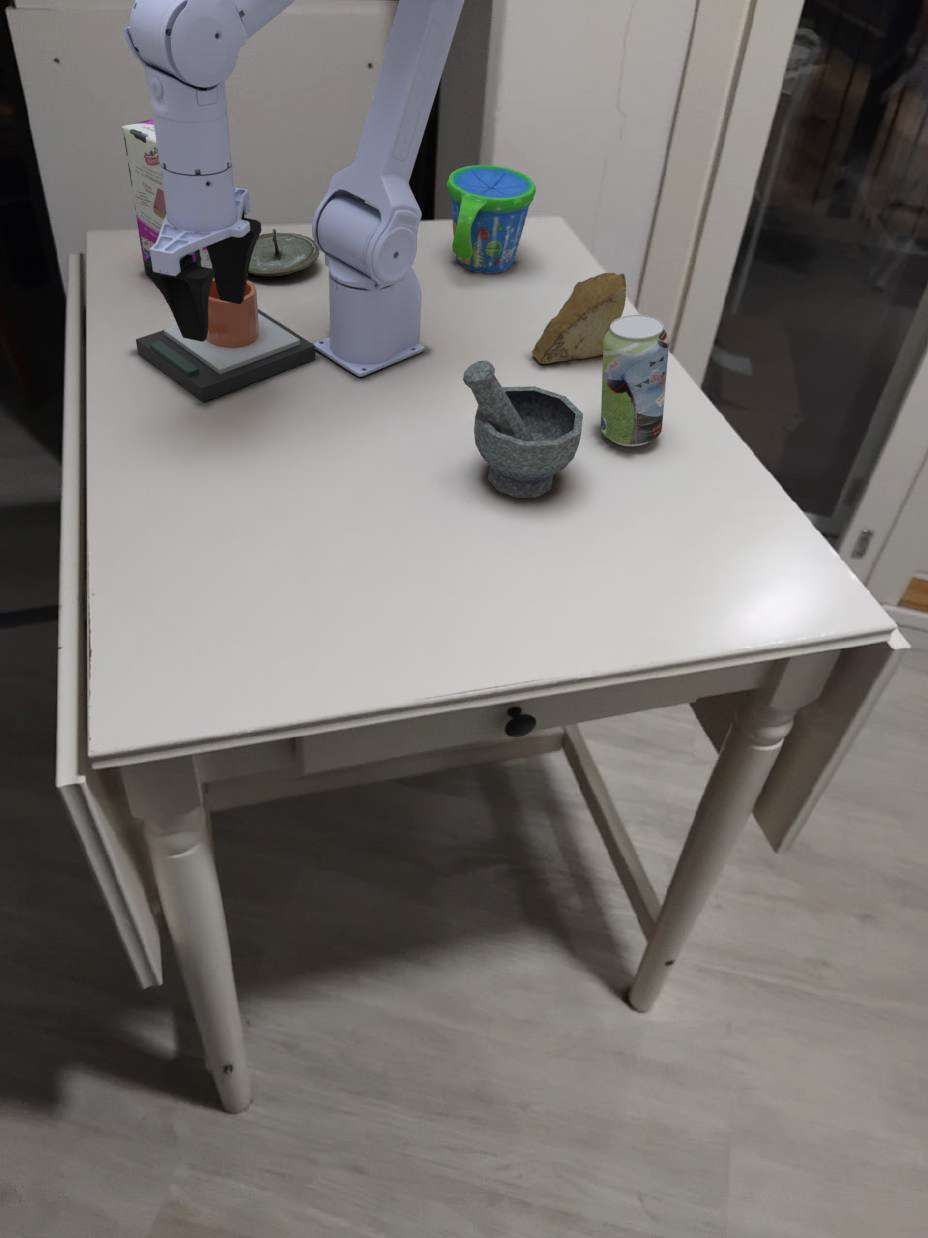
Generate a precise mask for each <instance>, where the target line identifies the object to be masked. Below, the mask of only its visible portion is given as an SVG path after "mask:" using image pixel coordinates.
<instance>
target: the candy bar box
mask: <svg viewBox="0 0 928 1238" xmlns="http://www.w3.org/2000/svg"><path fill="white" fill-rule="evenodd" d="M121 129H122V133H123V140H124V146H125V147H124V148H125V153H126V160H127V166H128V172H129V179H130V183H131V184H130V185H131V191H132V198H133V204H134V209H135V210H134V211H135V218H136V224H137V230H138V237H139V242H140V249H141V256H142V261H143V263H144V261H145V260H146V259H147V258H149V257H150V256H151V255H150V248H151V247H152V246H153V245H154V244H155V243H156V241H157V239H158V236H159V233H160V230H161V227H162V224H163V221H164V218H165V216H166V214H167V213H166V206H165V199H164V191H163V184H162V176H161V169H160V163H159V156H158V149H157V142H156V135H155V128H154V121H153V119H148V120H143V121H139V122H138V121H137V122H135V123H130V124H126V125H122V126H121ZM192 255H193V262H195V261H197V266H201V267H206V268H211V269H213V268H212V264H211V260H210V257H209V254H208V251H207V248H206V247H204V248H201V249H199V250H196V251H195V252H194V253H193V254H192ZM143 268H144V269H145V266H144V265H143ZM144 274H146V272H145V271H144Z"/></svg>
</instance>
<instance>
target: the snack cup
mask: <svg viewBox="0 0 928 1238" xmlns="http://www.w3.org/2000/svg"><path fill="white" fill-rule="evenodd" d="M446 189H447V193H448V194H449V197H450V200H451V204H450V205H451V219H452V232H453V240H452V245H451V246H452V247H451V248H452V252H453V254H454V255H455V261H456V262H458V263H460V264H461V265H462V267H464V268H465V269H467V270H470V271H471V272H474V273H475V272H476V273H483V274H495V273H503V272H505V271H506V270H508V269H510V268H511V266H512V265H513V264H514V262H515V260H516V256H517V252H518V247H519V245H520V240H521V238H522V235H523V231H524V227H525V223H526V219H527V216H528V212H529V209H530V208H529V207H530V206H531V204H532V202H533V201H534V199H535V195H536V192H537V186H536V184H535V182H534V181H533V179H532V178H530V177H529V176H528V175H527V174H525V173H523V172H520V171H518V170H515V169H512V168H510V167H509V168H508V167H505V166H499V165H489V164H477V165H476V164H475V165H467V166H464V167H460V168H457V169H455V170H454V171H452V172H451V173H450V174H449V177H448V180H447V182H446Z"/></svg>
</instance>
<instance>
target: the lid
mask: <svg viewBox="0 0 928 1238" xmlns="http://www.w3.org/2000/svg"><path fill="white" fill-rule="evenodd" d="M319 255H320V250H319V249H318V247H317V246H316V244H315V242H314V239H313V238H311V237H309V236H306V235H303V234H298V233H294V232H277V231H276V229H275V228H272V232H268V233H263V234H260V235H259V237H258V239H257V242H256V244H255V247H254V250H253V253H252V256H251V260H250V264H249V270H248V274H250V275H253V276H259V277H279V276H285V275H289V274H292V273H293V274H294V273H297V272H299V271H302V270H304V269H306V268H308V267H309V266H311V265H312V264H314V263H315V262H316V261H317V259H318V258H319Z"/></svg>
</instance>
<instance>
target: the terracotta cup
mask: <svg viewBox="0 0 928 1238" xmlns="http://www.w3.org/2000/svg"><path fill="white" fill-rule="evenodd" d="M257 293H258V292H257V288H256V285H255V284H254V283H253V282H251V281H250V280H248V279H247V283H246V290H245V296H244V300H243V302H242V303H241V304H237V303H232V302H227V301H222V300H220V297H219V295H218V292H217V288H216V284H215V279H214V278H213V280H212V284H211V288H210V293H209V301H208V335H207V339H206V340H207V341H208V342H210V343H211V344H213V345H216V346H220V347H226V348H237V347H243V346H247V345H249V344H252V343H253V342H255V341H256V340H257V339H258V337H259V319H258V309H259V308H258V295H257Z"/></svg>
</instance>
